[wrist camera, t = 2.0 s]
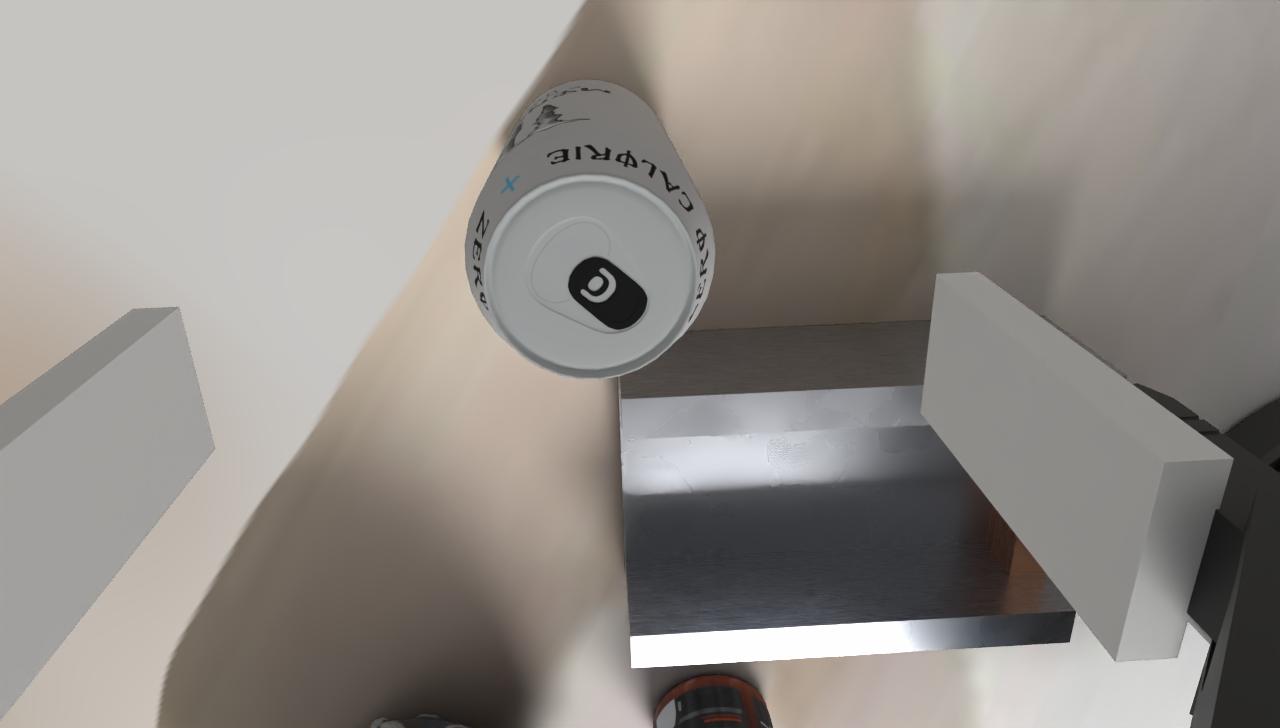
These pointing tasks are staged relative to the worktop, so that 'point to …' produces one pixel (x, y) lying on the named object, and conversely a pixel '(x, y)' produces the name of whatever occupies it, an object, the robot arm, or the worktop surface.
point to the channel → (811, 506)
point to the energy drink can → (589, 235)
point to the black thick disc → (416, 723)
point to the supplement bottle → (712, 705)
